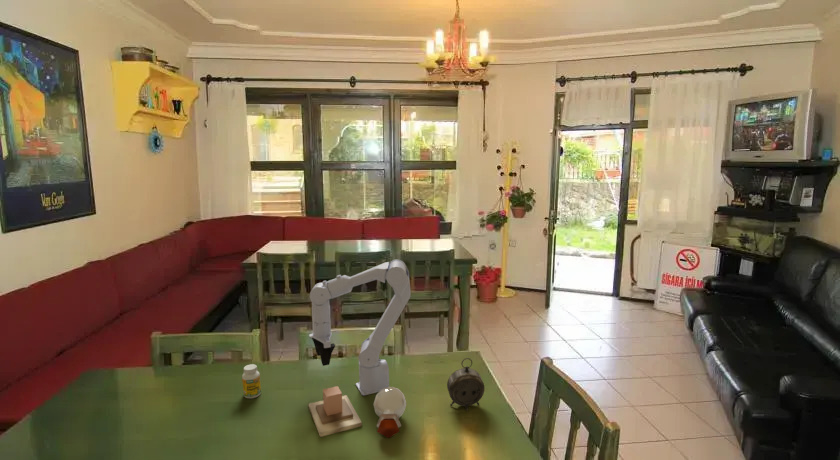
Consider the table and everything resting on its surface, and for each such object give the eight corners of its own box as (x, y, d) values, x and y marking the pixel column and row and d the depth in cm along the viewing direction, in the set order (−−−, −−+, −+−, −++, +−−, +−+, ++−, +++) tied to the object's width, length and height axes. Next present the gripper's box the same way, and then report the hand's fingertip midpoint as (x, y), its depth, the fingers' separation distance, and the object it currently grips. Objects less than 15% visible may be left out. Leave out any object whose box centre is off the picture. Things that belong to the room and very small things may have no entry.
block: (338, 404, 140) (337, 386, 139) (342, 412, 136) (341, 393, 135) (323, 407, 139) (322, 389, 137) (327, 415, 135) (326, 396, 133)
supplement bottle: (258, 388, 154) (256, 361, 152) (263, 395, 149) (261, 368, 147) (241, 393, 151) (239, 365, 149) (245, 400, 146) (243, 372, 145)
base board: (346, 398, 148) (346, 392, 147) (361, 426, 133) (361, 419, 133) (308, 407, 143) (308, 400, 142) (320, 436, 128) (319, 429, 128)
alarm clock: (481, 401, 146) (482, 353, 143) (485, 411, 141) (486, 361, 138) (446, 403, 145) (447, 355, 142) (449, 413, 140) (450, 363, 137)
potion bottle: (394, 411, 143) (393, 447, 129) (368, 395, 141) (364, 431, 127) (412, 390, 141) (412, 424, 127) (386, 374, 139) (383, 407, 125)
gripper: (304, 314, 154) (306, 352, 157) (313, 330, 141) (315, 372, 144) (325, 311, 157) (327, 349, 159) (336, 326, 144) (338, 367, 146)
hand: (323, 359), depth 152 cm, fingers open, 7 cm apart
